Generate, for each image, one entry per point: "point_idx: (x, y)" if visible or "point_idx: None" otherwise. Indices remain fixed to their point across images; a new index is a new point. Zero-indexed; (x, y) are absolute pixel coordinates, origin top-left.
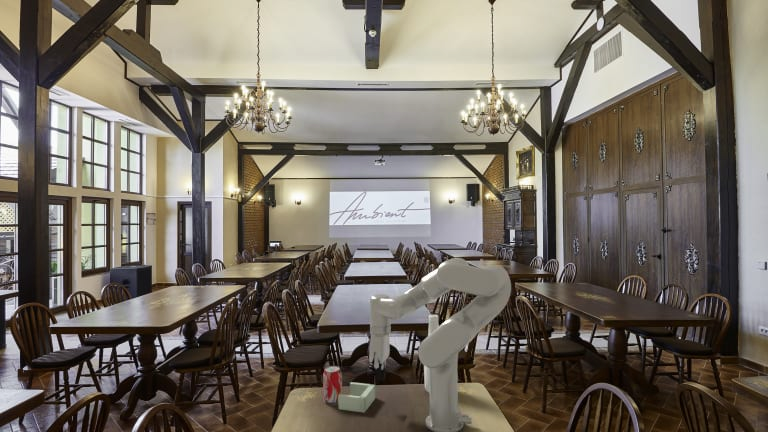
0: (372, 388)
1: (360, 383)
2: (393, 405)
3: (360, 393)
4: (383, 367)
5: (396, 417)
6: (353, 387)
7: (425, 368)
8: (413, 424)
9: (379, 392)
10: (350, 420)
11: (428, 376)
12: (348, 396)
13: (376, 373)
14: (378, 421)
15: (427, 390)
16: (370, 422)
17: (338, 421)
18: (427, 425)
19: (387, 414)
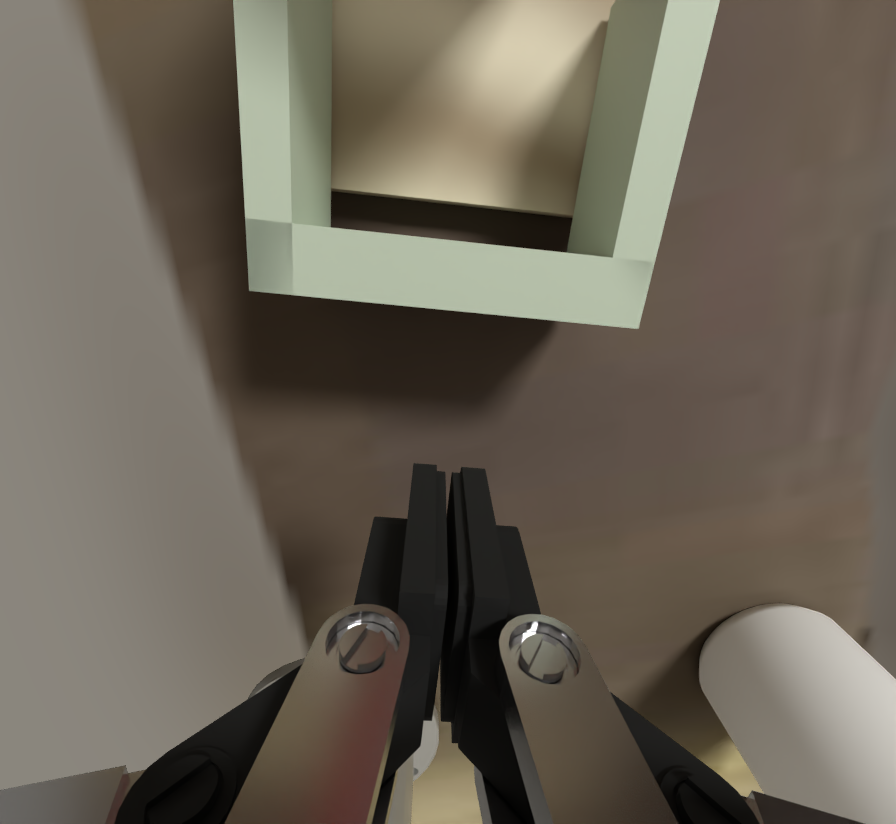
0: (537, 318)
1: (685, 104)
2: (525, 448)
3: (599, 141)
4: (391, 781)
5: (358, 498)
6: (648, 7)
7: (881, 786)
8: (300, 598)
9: (757, 291)
10: (217, 166)
11: (794, 739)
12: (242, 43)
13: (408, 529)
14: (272, 397)
15: (729, 628)
16: (240, 344)
17: (161, 45)
18: (277, 676)
19: (385, 435)
